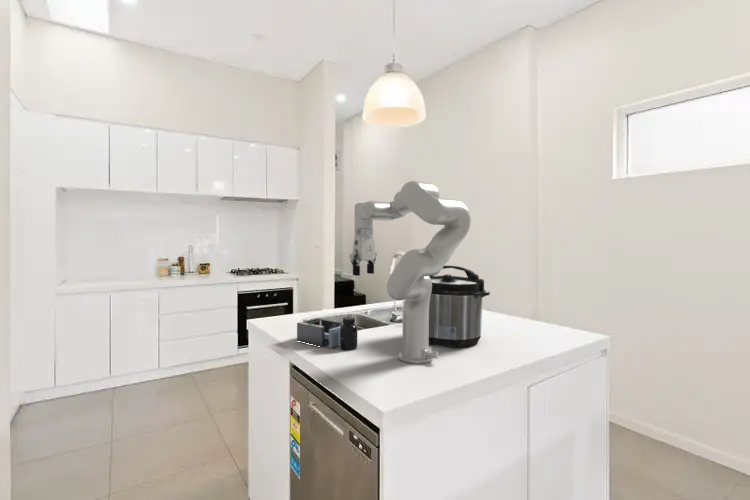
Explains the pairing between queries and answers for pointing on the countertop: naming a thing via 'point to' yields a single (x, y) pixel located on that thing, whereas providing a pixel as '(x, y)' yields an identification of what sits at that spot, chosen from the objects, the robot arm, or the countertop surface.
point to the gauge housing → (315, 331)
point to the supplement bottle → (348, 334)
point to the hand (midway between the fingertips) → (363, 274)
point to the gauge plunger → (331, 335)
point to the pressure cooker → (456, 309)
